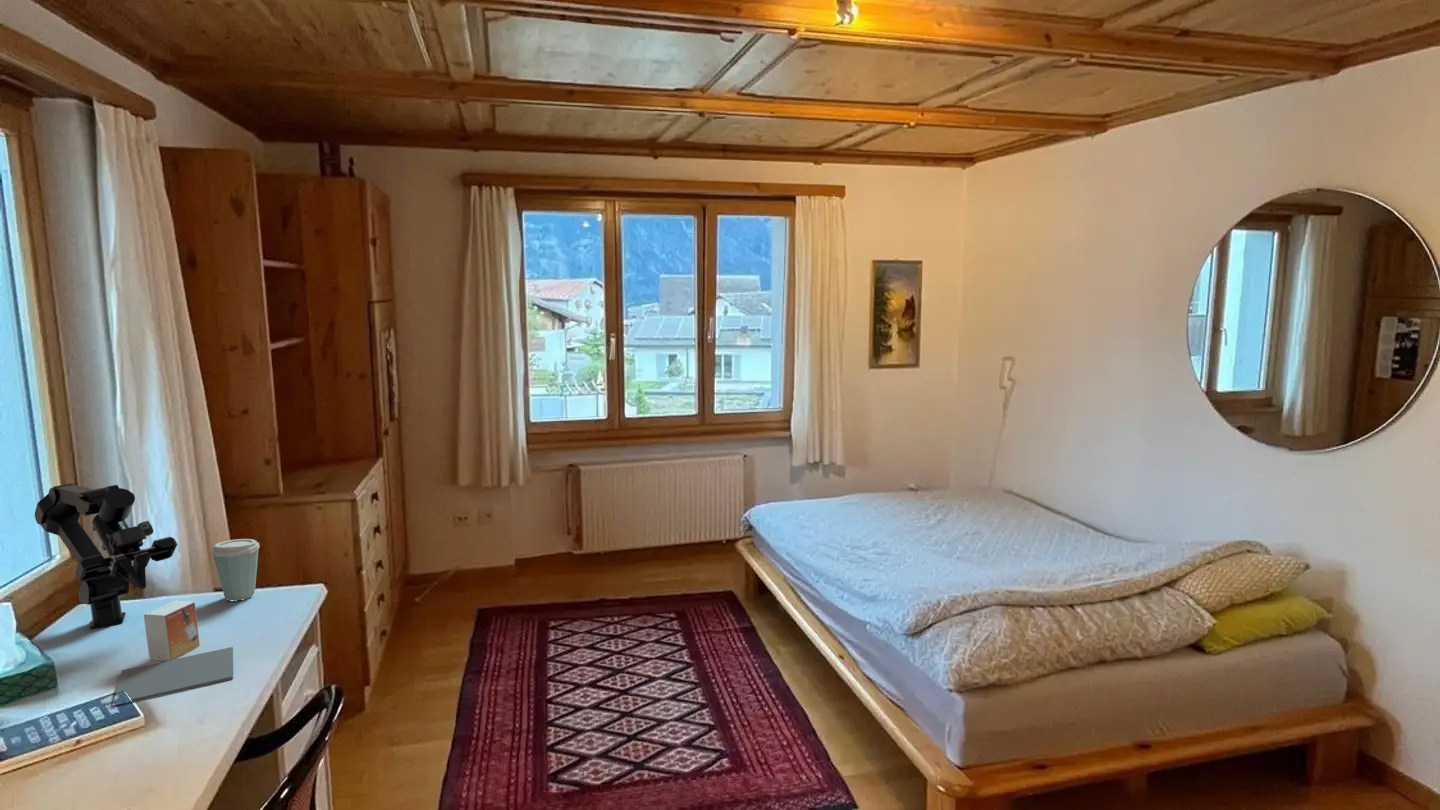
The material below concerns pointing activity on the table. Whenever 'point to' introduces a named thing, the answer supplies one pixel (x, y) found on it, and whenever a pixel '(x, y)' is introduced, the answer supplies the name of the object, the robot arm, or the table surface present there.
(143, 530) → the robot arm
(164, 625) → the small box
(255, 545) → the disposable coffee cup
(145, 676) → the charcoal mat
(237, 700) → the table surface
